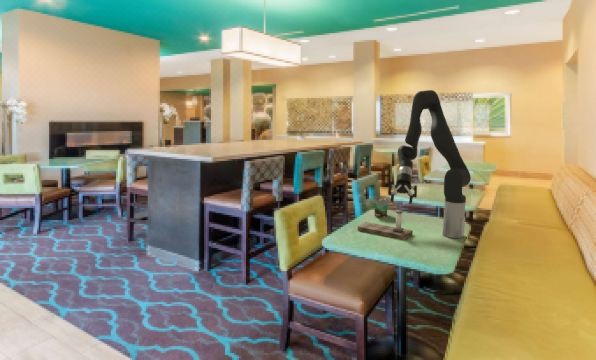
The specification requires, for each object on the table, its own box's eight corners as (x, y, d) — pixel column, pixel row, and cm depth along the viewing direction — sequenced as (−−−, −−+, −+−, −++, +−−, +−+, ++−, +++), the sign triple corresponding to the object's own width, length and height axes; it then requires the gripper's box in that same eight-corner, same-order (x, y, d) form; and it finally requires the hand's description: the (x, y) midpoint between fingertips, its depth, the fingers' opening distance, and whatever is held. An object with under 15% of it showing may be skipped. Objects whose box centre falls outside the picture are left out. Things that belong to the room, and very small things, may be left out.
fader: (403, 229, 186) (404, 210, 184) (400, 232, 183) (401, 212, 181) (395, 228, 188) (396, 209, 186) (392, 230, 185) (393, 211, 183)
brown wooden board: (412, 234, 187) (412, 230, 186) (405, 239, 179) (405, 235, 178) (365, 225, 201) (366, 221, 200) (357, 230, 193) (357, 226, 192)
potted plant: (383, 218, 214) (384, 201, 212) (373, 217, 217) (374, 200, 216) (392, 214, 223) (393, 197, 222) (382, 212, 227) (383, 196, 225)
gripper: (390, 171, 199) (386, 197, 191) (418, 173, 194) (415, 199, 186) (391, 179, 205) (387, 205, 197) (418, 181, 200) (415, 207, 192)
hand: (401, 202), depth 191 cm, fingers open, 8 cm apart
